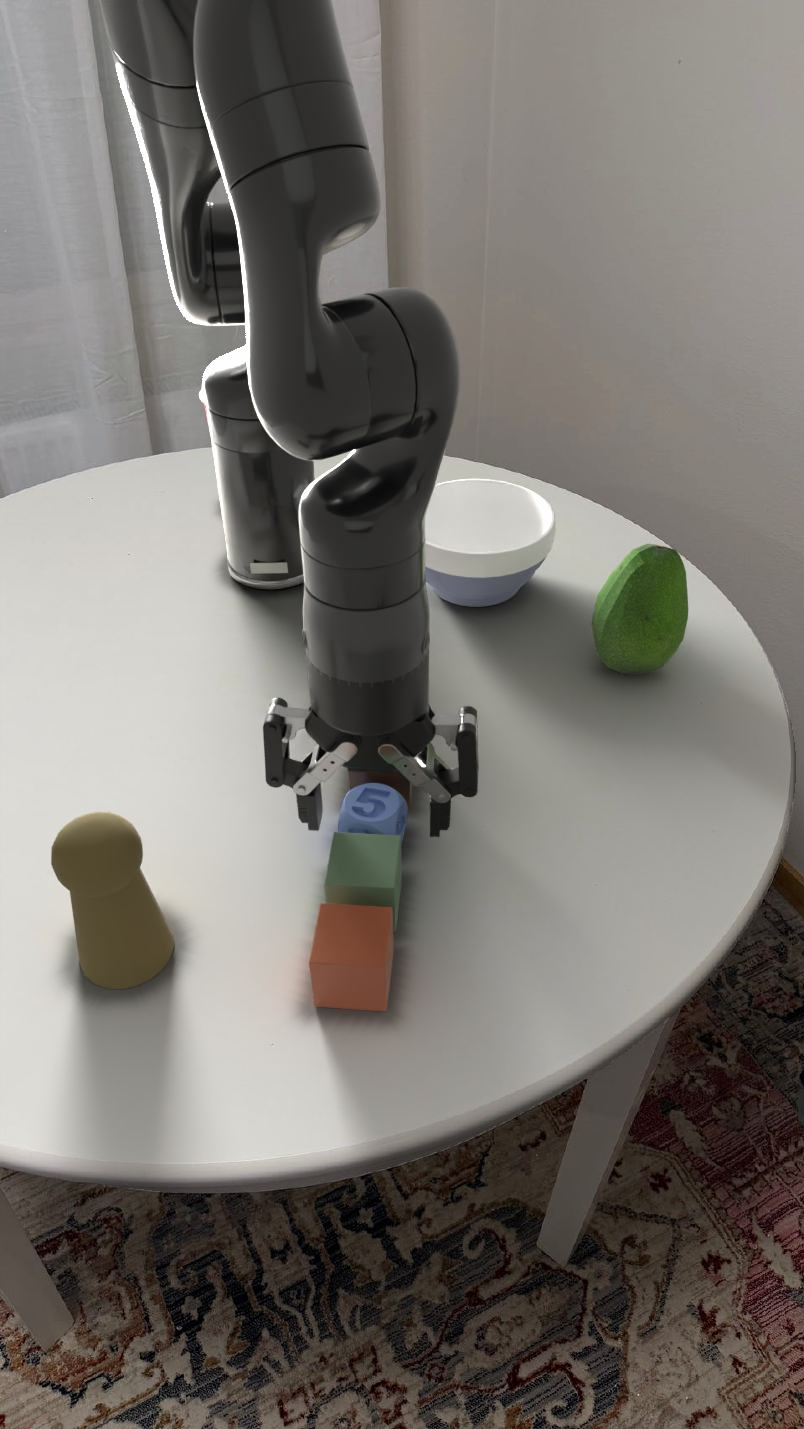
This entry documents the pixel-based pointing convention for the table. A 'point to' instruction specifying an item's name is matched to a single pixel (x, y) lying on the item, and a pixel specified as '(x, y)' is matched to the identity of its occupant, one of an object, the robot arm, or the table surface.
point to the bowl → (485, 540)
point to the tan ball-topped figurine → (111, 901)
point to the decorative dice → (373, 811)
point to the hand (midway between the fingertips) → (375, 825)
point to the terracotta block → (352, 957)
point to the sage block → (365, 871)
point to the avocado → (642, 611)
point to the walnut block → (383, 782)
